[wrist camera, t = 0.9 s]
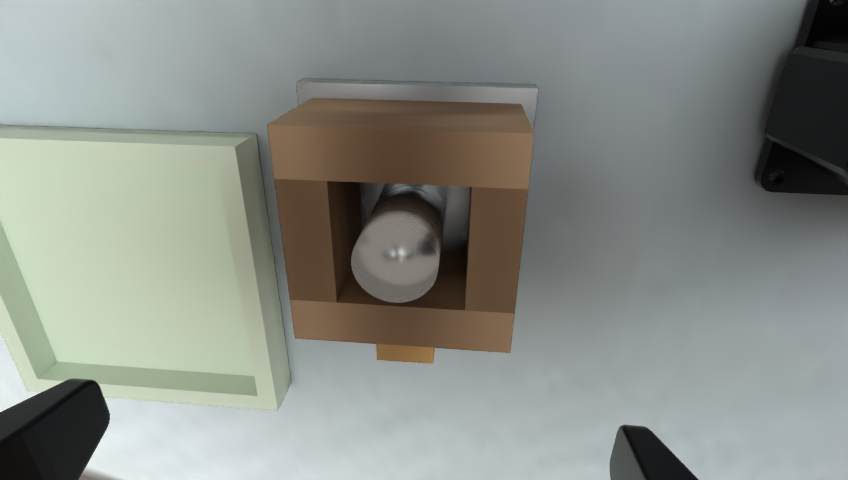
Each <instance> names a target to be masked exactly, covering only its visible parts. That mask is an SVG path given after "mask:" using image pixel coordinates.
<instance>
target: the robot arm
mask: <svg viewBox="0 0 848 480" xmlns="http://www.w3.org/2000/svg"><path fill="white" fill-rule="evenodd" d="M765 133H766V135H767V138H766V142H765V145H764V148H763V151H762V154H761V157H760V160H759V163H758V166H757V170H756V173H755V181H756V184H758V185H759V186H760V187H761V188H763V189H765V190H766V191H770V192H783V193H808V194H833V195H848V0H837V1H836V2H835V3H833V4H831V2H830V1H829V0H811V2H810V5H809V8H808V11H807V14H806V17H805V20H804V23H803V27H802V30H801V33H800V36H799V39H798V42H797V45H796V48H795V50H794V51H793V52H792V53H791V54H790V55H789V56H788V59H787V63H786V66H785V69H784V72H783V75H782V78H781V81H780V85H779V88H778V91H777V94H776V97H775V100H774V103H773V107H772V110H771V113H770V116H769V119H768V122H767V125H766V129H765ZM775 171H779V172H778V176H777V177H776V179H774V180H773V181H769V176H770V175H771V174H772V173H773V172H775ZM109 420H110V413H109V410H108V407H107V404H106V402H105V399H104V396H103V393H102V391H101V388H100V386H99V384H98V383H97V382H96V381H95V380H90V379H78V378H73V379H68V380H66V381H64V382H62V383H60V384H58V385H56V386H54V387H51V388H49V389H47V390H45V391H43V392H41V393H39V394H37V395H35V396H33V397H31V398H29V399H27V400H25V401H23V402H21V403H19V404H17V405H15V406H12V407H10V408H8V409H6V410H4V411H2V412H0V480H79V478H80V476H81V474H82V473H83V471H84V469H85V467H86V465H87V464H88V462H89V460H90V458H91V456H92V455H93V453H94V451H95V449H96V447H97V446H98V444H99V442H100V440H101V438H102V436H103V435H104V433H105V431H106V429H107V427H108V424H109ZM610 477H611V480H698V479H697V478H696V476H695V475H694V474H693V473H692V472H691V471H690V470H689V469H688V468H687V467H686V466H685V465H684V464H683V463H682V462H681V461H680V460H679V459H678V458H677V457H676V456H675V455H674V454H673V453H672V452H671V451H670V450H669V449H668V448H667V447H666V446H665V445H664V444H663V443H662V442H661V440H660V439H659V438H658V437H657V436H656V435H655V434H654V433H653V432H652V431H651V430H649V429H648V428H646V427H643V426H632V425H622V426H620V428H619V429H618V432H617V435H616V439H615V443H614V447H613V451H612V455H611V459H610Z"/></svg>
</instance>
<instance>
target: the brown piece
mask: <svg viewBox="0 0 848 480" xmlns="http://www.w3.org/2000/svg"><path fill="white" fill-rule="evenodd" d="M267 128H268V136H269V144H270V151H271V159H272V166H273V174H274V182H275V189H276V197H277V205H278V212H279V220H280V228H281V235H282V243H283V251H284V258H285V266H286V273H287V281H288V289H289V296H290V304H291V312H292V319H293V327H294V335H295V338H298V339H313V340H328V341H342V342H357V343H372V344H376V345H377V360H389V361H403V362H417V363H431V364H433V360H434V352H435V348H446V349H460V350H475V351H490V352H505V353H510V350H511V341H512V332H513V323H514V314H515V305H516V296H517V286H518V277H519V268H520V259H521V250H522V241H523V232H524V223H525V214H526V205H527V196H528V187H529V178H530V168H531V159H532V150H533V141H534V132H533V129H532V127H531V125H530V123H529V120H528V118H527V116H526V114H525V111H524V109H523V107H522V105H521V104H512V103H476V102H440V101H404V100H368V99H332V98H311V99H309V100H308V101H306V102H304V103H303V104H301V105H299V106H298V107H296V108H294V109H293V110H291V111H289V112H288V113H286V114H284V115H283V116H281V117H279V118H278V119H276V120H274V121H273V122H271V123H269V124H268V125H267ZM360 182H365V183H389V184H414V185H438V186H462V187H470V204H469V222H468V240H467V251H463V250H444V249H441V253H440V260H439V267H438V274H437V278H436V280H435V282H434V284H433V286H432V287H431V288H430V290H429V291H428V292H426V293H425V294H424V295H423V296H421V297H419V298H417V299H415V300H412V301H408V302H402V303H394V302H388V301H383V300H381V299H378V298H376V297H374V296H372V295H371V294H369V293H368V292H367V291H365V290H364V289H363V288H362V287H361V286H360V284H359V283H358V282H357V280H356V278H355V276H354V274H353V271H352V266H351V256H352V252H353V249H354V246H355V244H356V242H357V240H358V238H359V236H360V234H361V232H362V218H361V198H360Z"/></svg>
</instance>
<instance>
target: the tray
mask: <svg viewBox="0 0 848 480" xmlns="http://www.w3.org/2000/svg"><path fill="white" fill-rule="evenodd" d="M0 333H1V335H2V337H3V339H4V342H5V344H6V346H7V348H8V350H9V353H10V355H11V357H12V359H13V361H14V364H15V366H16V368H17V370H18V372H19V375H20V377H21V379H22V381H23V383H24V386H25V388H26V390H27V391H33V392H43V391H45V390H47V389H49V388H51V387H54V386H56V385H58V384H60V383H62V382H64V381H66V380H68V379H73V378H78V379H90V380H95V381H96V382H97V383H98V384H99V386H100V388H101V391H102V393H103V396H104V397H108V398H121V399H133V400H146V401H158V402H171V403H183V404H196V405H208V406H221V407H233V408H246V409H258V410H271V411H278V410H279V408H280V406H281V403H282V401H283V399H284V397H285V395H286V393H287V391H288V389H289V387H290V385H291V377H290V370H289V363H288V356H287V349H286V341H285V334H284V327H283V320H282V313H281V306H280V299H279V292H278V285H277V278H276V271H275V264H274V257H273V250H272V243H271V236H270V229H269V222H268V215H267V207H266V200H265V193H264V186H263V179H262V172H261V165H260V158H259V151H258V144H257V137H256V134H249V133H220V132H190V131H161V130H132V129H102V128H73V127H43V126H14V125H0Z"/></svg>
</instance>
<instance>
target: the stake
mask: <svg viewBox="0 0 848 480" xmlns="http://www.w3.org/2000/svg"><path fill="white" fill-rule="evenodd" d="M296 88H297V98H298V106H299V105H301V104H303V103H304V102H306V101H308V100H309V99H311V98H332V99H368V100H404V101H440V102H476V103H512V104H521V105H522V107H523V109H524V111H525V114H526V116H527V118H528V120H529V123H530V125H531V127H532V129H533V132H534V123H535V114H536V105H537V96H538V87H537V86H536V84H495V83H455V82H414V81H374V80H333V79H302V80H300V81H297V82H296ZM360 198H361V218H362V232H361V234H360V236H359V238H358V240H357V242H356V244H355V246H354V249H353V252H352V256H351V266H352V271H353V274H354V276H355V278H356V280H357V282H358V283H359V284H360V286H361V287H362V288H363V289H364V290H365V291H367V292H368V293H369V294H371V295H372V296H374V297H376V298H378V299H381V300H383V301H388V302H394V303H402V302H408V301H412V300H415V299H417V298H419V297H421V296H423V295H424V294H425V293H426V292H428V291H429V290H430V288H431V287H432V286H433V284H434V282H435V280H436V278H437V274H438V267H439V260H440V253H441V249H444V250H463V251H467V240H468V222H469V204H470V187H462V186H438V185H414V184H389V183H365V182H360Z"/></svg>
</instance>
